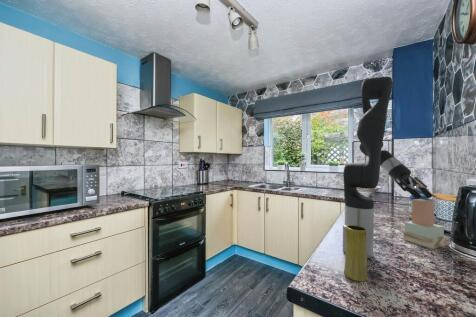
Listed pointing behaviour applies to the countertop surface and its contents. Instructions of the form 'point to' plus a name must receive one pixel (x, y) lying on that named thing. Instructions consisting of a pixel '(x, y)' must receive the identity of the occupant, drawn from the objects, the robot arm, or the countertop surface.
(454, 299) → the countertop surface
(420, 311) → the countertop surface
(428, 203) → the square block
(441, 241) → the tower base
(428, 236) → the tower top
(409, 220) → the beverage bottle
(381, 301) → the countertop surface
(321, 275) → the countertop surface
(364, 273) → the vase
